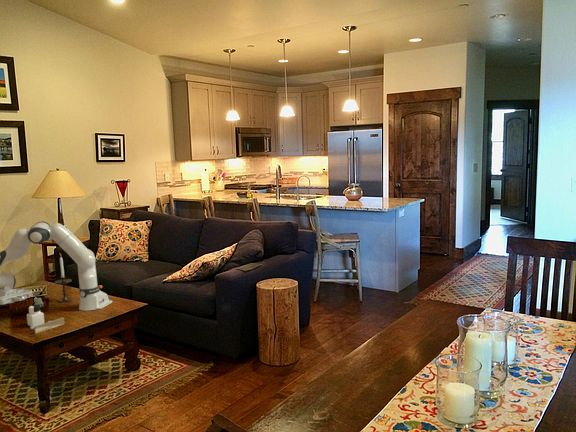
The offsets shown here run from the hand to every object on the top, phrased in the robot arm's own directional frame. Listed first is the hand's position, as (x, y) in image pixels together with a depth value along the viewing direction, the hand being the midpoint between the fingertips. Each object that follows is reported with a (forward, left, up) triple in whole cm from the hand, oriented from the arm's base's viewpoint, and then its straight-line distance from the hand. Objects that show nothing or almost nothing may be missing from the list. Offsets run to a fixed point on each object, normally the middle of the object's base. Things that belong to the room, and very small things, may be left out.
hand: (22, 299), depth 297 cm
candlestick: (-41, -10, -15) cm, 45 cm away
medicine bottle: (+2, +12, -15) cm, 19 cm away
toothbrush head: (-29, -25, -15) cm, 41 cm away
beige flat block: (+4, +21, -14) cm, 26 cm away
